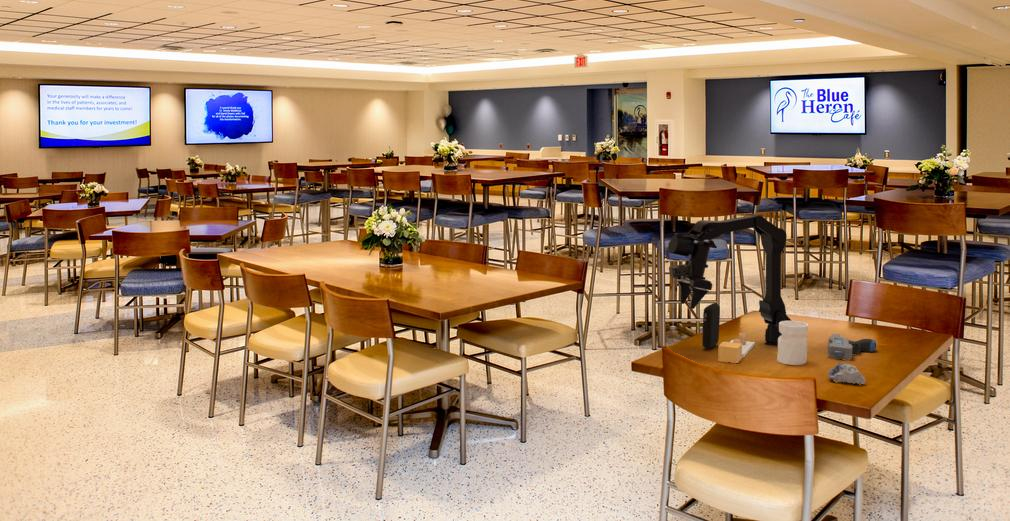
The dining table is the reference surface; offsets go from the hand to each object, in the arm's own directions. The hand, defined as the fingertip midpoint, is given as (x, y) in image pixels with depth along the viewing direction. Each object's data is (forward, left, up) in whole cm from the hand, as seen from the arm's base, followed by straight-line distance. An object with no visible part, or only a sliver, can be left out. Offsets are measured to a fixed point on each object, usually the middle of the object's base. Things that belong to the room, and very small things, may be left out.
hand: (686, 306), depth 277 cm
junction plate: (-15, -9, -15) cm, 23 cm away
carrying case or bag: (-6, -7, -15) cm, 18 cm away
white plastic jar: (-33, -3, -15) cm, 36 cm away
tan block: (-15, +4, -15) cm, 22 cm away
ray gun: (-49, -21, -16) cm, 56 cm away
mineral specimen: (-50, +12, -15) cm, 54 cm away
